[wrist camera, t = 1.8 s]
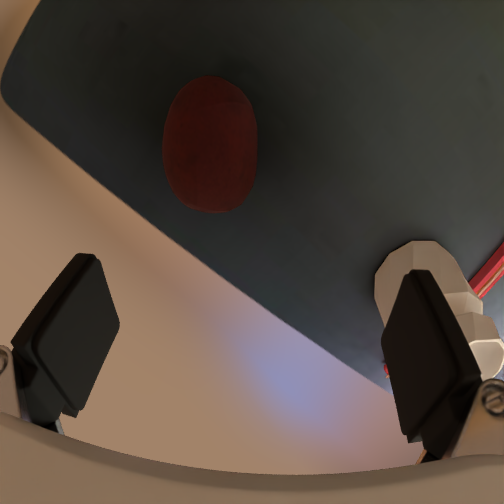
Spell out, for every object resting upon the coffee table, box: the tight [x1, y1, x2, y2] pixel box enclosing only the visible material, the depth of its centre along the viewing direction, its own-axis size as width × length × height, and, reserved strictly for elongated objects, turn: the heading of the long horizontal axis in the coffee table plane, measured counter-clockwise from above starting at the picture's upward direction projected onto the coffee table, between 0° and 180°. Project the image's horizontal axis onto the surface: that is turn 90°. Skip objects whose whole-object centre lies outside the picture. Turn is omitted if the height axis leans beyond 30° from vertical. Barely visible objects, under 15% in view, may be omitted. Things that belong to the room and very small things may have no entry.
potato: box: [162, 75, 257, 213], centre depth 20 cm, size 8×9×6 cm
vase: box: [374, 241, 504, 381], centre depth 23 cm, size 9×9×12 cm
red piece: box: [384, 242, 504, 378], centre depth 28 cm, size 24×2×5 cm
